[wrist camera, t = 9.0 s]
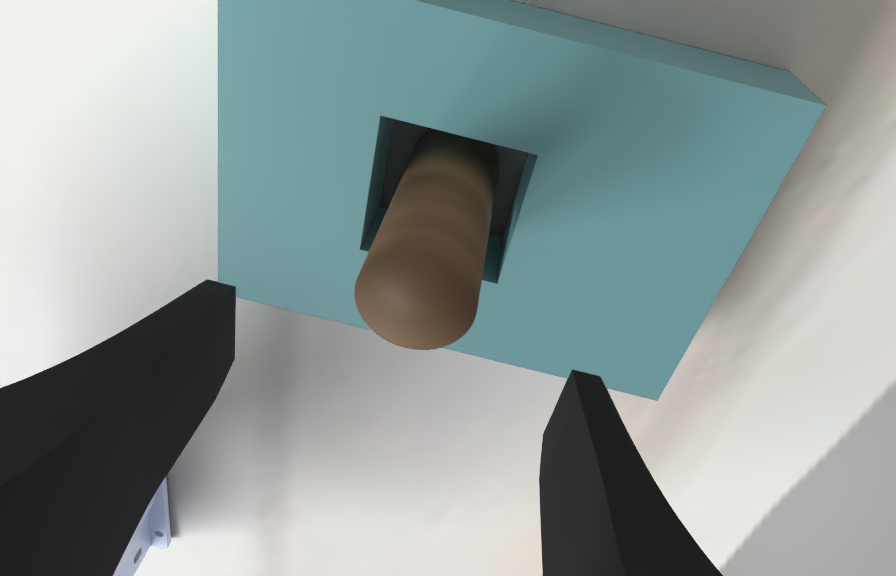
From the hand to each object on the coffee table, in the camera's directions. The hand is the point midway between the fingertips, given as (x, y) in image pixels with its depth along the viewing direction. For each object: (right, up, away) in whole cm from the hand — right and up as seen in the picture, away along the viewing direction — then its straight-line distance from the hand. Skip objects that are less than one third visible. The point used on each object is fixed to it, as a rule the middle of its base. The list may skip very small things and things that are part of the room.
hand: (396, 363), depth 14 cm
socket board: (+2, +6, +8) cm, 10 cm away
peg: (+1, +6, +8) cm, 10 cm away
